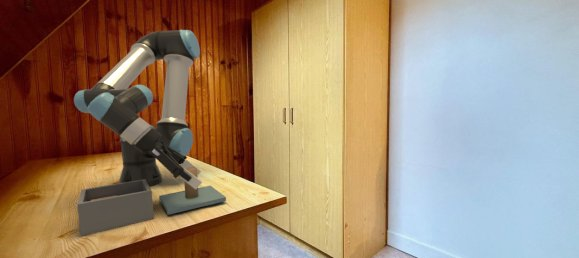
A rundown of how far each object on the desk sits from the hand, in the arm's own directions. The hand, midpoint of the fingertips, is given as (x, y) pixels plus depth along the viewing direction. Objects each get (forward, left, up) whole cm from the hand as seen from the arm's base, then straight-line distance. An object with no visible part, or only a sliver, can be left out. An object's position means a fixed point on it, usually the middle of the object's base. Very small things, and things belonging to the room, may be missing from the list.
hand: (198, 179), depth 85 cm
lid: (-1, -2, -6) cm, 7 cm away
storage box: (-2, -22, -7) cm, 23 cm away
